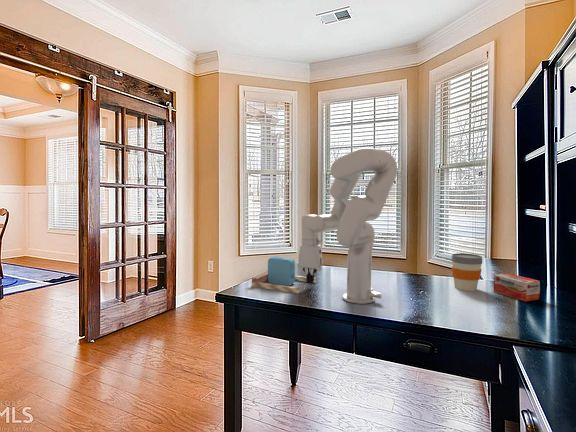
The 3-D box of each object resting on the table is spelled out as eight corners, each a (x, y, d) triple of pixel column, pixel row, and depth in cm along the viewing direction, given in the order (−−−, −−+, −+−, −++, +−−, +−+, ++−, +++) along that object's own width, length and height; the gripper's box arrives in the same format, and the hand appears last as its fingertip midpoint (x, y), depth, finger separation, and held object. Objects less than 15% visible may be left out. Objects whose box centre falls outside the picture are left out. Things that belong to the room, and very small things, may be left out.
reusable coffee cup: (449, 289, 160) (450, 256, 159) (451, 283, 171) (452, 252, 170) (481, 293, 154) (482, 259, 153) (481, 287, 165) (482, 254, 164)
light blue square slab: (294, 284, 167) (295, 258, 166) (290, 286, 163) (290, 260, 162) (272, 281, 172) (272, 256, 171) (267, 283, 168) (267, 257, 167)
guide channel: (316, 282, 171) (316, 273, 170) (298, 293, 152) (298, 284, 152) (273, 276, 181) (273, 268, 180) (251, 286, 162) (251, 277, 162)
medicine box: (492, 291, 158) (493, 274, 157) (506, 290, 161) (507, 272, 160) (525, 302, 144) (526, 282, 143) (540, 300, 146) (541, 281, 146)
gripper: (328, 242, 160) (328, 282, 161) (298, 240, 166) (298, 279, 167) (323, 244, 153) (323, 286, 154) (291, 242, 159) (291, 283, 160)
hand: (310, 283), depth 160 cm, fingers closed
